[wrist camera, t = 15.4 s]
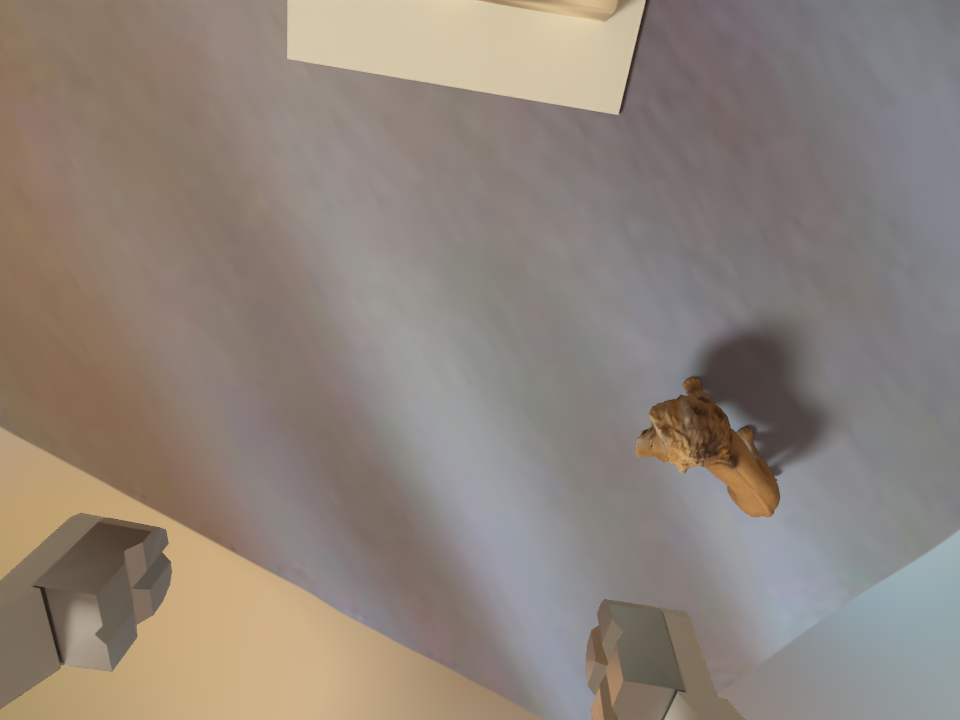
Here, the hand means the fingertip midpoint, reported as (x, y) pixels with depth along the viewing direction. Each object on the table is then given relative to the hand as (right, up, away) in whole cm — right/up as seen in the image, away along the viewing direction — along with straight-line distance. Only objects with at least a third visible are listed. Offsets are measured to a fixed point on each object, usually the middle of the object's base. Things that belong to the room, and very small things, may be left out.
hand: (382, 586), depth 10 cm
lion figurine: (+18, -1, +31) cm, 36 cm away
